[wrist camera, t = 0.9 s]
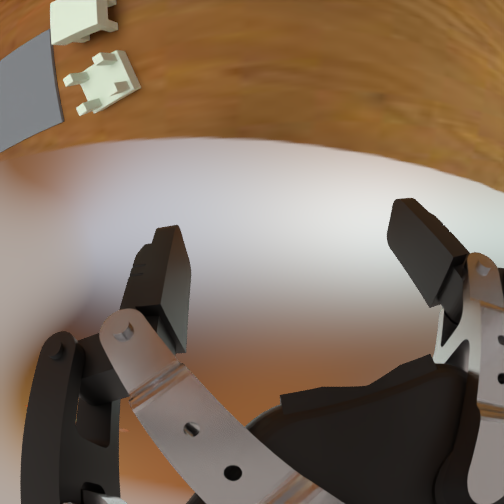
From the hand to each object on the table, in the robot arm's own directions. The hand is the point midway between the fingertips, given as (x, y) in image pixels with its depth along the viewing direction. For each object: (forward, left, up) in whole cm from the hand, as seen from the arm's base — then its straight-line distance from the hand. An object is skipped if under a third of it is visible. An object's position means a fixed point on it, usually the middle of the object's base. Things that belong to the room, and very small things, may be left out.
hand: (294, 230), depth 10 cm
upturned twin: (-8, -15, -25) cm, 30 cm away
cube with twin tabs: (-17, -16, -25) cm, 34 cm away
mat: (-12, -30, -25) cm, 40 cm away
